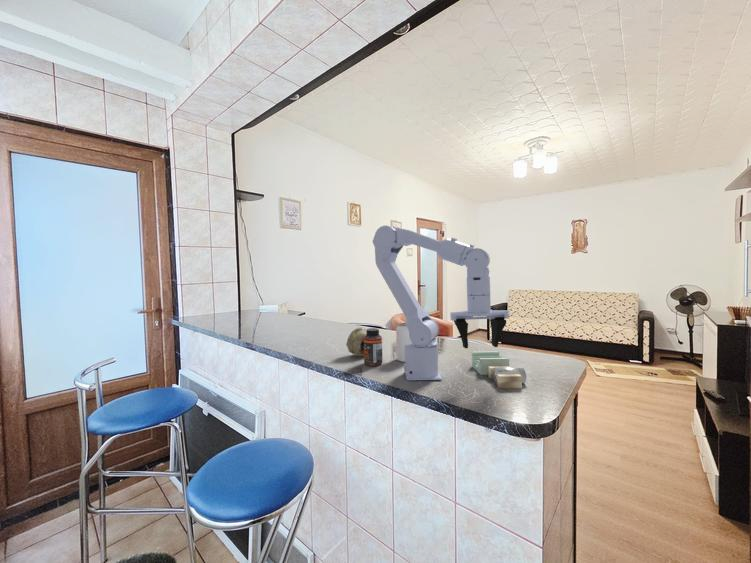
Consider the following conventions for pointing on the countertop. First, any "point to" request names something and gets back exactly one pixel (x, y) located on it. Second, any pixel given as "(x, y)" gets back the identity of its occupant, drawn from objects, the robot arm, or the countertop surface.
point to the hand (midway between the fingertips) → (480, 346)
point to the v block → (487, 361)
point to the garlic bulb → (356, 342)
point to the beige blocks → (506, 378)
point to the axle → (509, 372)
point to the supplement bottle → (373, 347)
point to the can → (402, 340)
